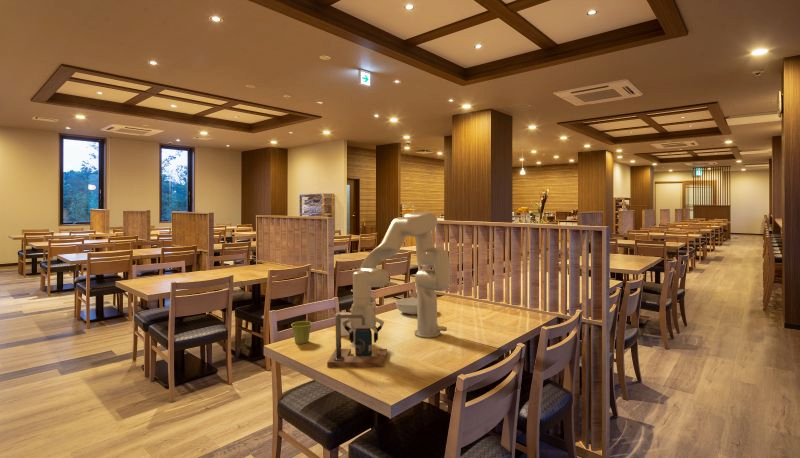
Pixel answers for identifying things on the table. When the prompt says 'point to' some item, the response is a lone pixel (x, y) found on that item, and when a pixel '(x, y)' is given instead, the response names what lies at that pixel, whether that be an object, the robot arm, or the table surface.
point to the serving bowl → (407, 305)
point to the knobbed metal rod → (338, 333)
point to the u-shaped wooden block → (358, 359)
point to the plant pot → (301, 331)
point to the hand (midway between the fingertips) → (363, 341)
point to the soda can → (363, 342)
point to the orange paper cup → (343, 330)
